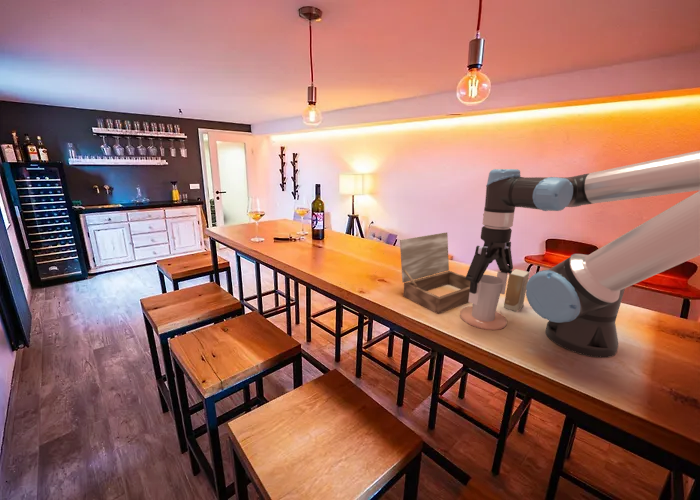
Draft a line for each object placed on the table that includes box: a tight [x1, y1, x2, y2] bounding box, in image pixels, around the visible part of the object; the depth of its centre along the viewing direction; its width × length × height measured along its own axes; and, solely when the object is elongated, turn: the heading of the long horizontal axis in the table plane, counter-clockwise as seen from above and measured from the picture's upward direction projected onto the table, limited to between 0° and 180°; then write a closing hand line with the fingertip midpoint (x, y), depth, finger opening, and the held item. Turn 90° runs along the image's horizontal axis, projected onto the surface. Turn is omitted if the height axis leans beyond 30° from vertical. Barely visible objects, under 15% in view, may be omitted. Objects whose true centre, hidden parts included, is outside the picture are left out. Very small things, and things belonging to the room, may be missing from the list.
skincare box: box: [503, 268, 530, 313], centre depth 95 cm, size 6×4×12 cm
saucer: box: [459, 306, 508, 331], centre depth 89 cm, size 13×13×1 cm
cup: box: [471, 273, 504, 322], centre depth 87 cm, size 8×8×12 cm
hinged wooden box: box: [399, 232, 470, 315], centre depth 103 cm, size 19×24×20 cm
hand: (487, 297), depth 86 cm, fingers open, 13 cm apart
